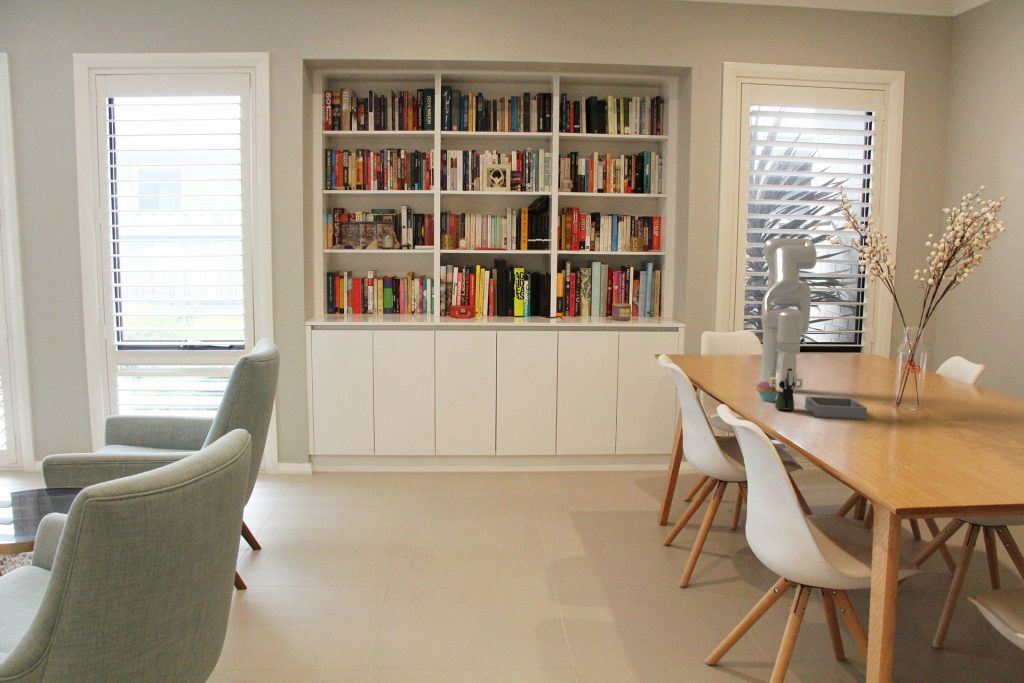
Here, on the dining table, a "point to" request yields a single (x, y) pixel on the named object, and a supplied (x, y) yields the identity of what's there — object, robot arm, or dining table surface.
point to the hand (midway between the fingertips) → (785, 397)
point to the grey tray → (835, 408)
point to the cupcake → (767, 390)
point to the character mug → (779, 387)
